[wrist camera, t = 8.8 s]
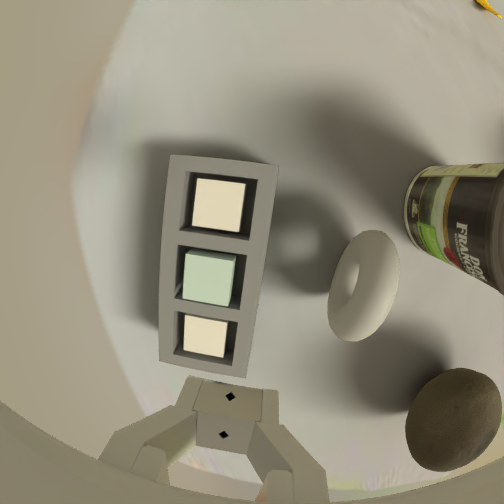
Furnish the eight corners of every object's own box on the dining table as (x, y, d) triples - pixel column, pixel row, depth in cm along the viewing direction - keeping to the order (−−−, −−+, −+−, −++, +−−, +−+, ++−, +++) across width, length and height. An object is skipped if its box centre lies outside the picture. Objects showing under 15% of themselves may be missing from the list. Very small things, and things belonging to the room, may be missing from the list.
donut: (348, 218, 27) (386, 234, 17) (377, 229, 27) (424, 249, 17) (315, 307, 29) (332, 360, 19) (343, 315, 29) (370, 367, 20)
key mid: (192, 248, 25) (185, 253, 23) (236, 255, 25) (233, 261, 23) (188, 290, 26) (182, 298, 24) (231, 297, 26) (227, 306, 24)
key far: (190, 306, 27) (184, 315, 25) (230, 313, 27) (227, 322, 25) (188, 340, 28) (183, 349, 26) (226, 347, 28) (223, 357, 26)
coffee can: (431, 274, 28) (509, 325, 14) (385, 203, 26) (470, 221, 13) (481, 218, 26) (564, 240, 12) (442, 147, 24) (531, 135, 11)
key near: (203, 179, 24) (197, 178, 23) (247, 184, 24) (245, 183, 22) (197, 222, 25) (191, 225, 23) (241, 228, 25) (238, 232, 23)
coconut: (480, 360, 30) (530, 414, 15) (424, 425, 33) (456, 488, 18) (434, 331, 29) (498, 400, 14) (369, 409, 32) (398, 492, 18)
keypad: (187, 159, 27) (170, 154, 22) (277, 170, 26) (279, 165, 21) (173, 337, 31) (159, 360, 26) (249, 352, 31) (245, 378, 26)
